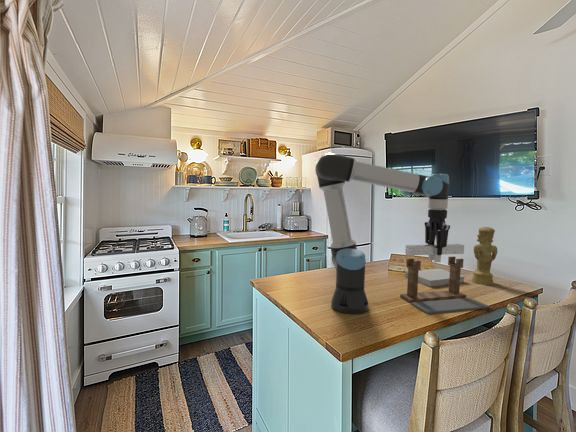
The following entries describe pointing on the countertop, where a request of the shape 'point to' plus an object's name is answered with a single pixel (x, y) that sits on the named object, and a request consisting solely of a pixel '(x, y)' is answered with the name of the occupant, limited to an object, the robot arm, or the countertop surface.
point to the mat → (449, 305)
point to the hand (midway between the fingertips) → (434, 260)
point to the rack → (436, 295)
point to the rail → (433, 249)
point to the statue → (484, 256)
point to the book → (434, 277)
